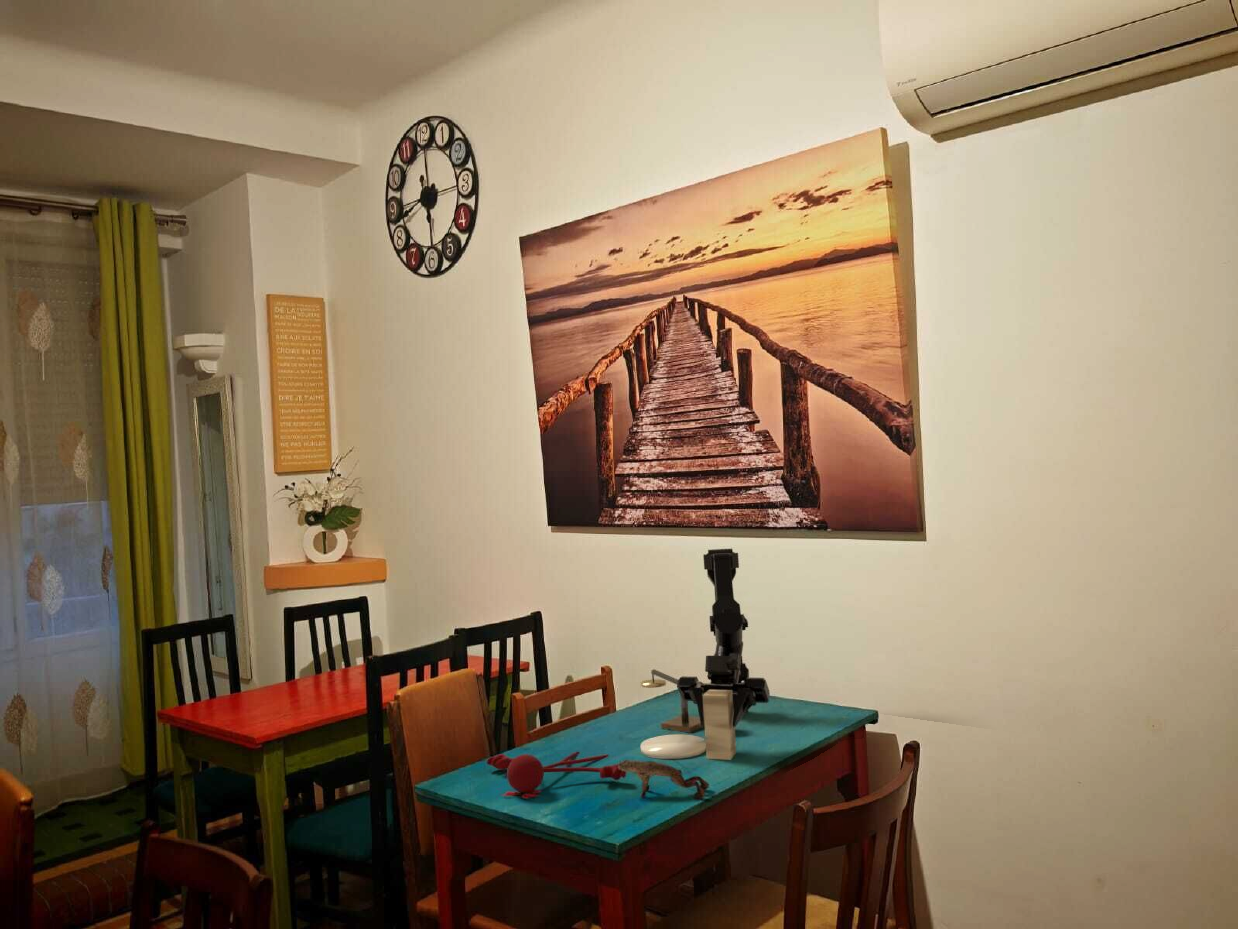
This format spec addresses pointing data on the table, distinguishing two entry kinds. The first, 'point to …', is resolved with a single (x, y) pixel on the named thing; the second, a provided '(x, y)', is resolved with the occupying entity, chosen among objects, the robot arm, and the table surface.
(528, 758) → the toy
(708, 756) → the birch block
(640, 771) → the toy
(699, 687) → the robot arm
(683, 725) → the balance
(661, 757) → the saucer
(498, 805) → the table surface
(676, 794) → the table surface
